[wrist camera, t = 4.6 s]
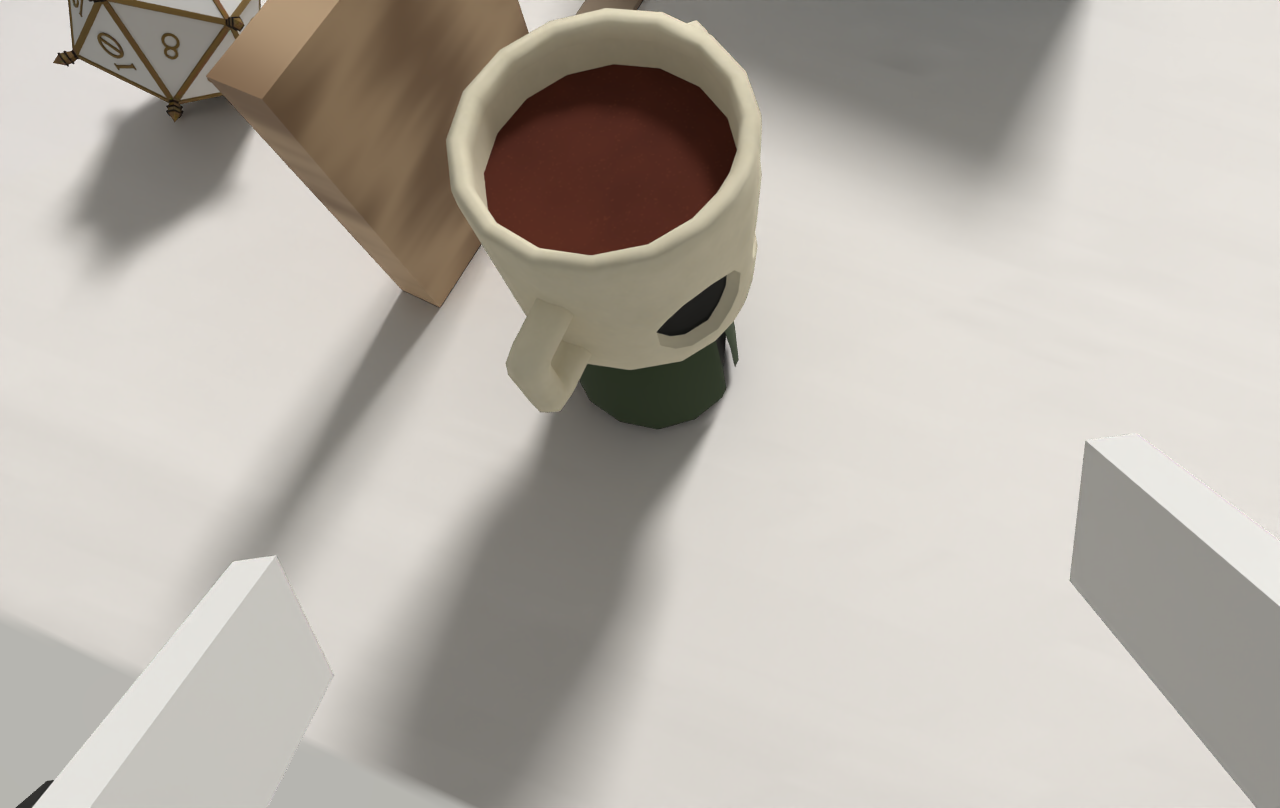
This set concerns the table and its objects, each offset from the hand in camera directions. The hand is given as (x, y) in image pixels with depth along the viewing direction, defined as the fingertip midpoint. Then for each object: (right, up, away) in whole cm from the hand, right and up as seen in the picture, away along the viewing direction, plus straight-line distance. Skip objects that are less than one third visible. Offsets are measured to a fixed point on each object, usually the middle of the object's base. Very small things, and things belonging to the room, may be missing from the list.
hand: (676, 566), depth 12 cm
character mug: (0, +4, +16) cm, 17 cm away
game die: (-21, +18, +24) cm, 36 cm away
